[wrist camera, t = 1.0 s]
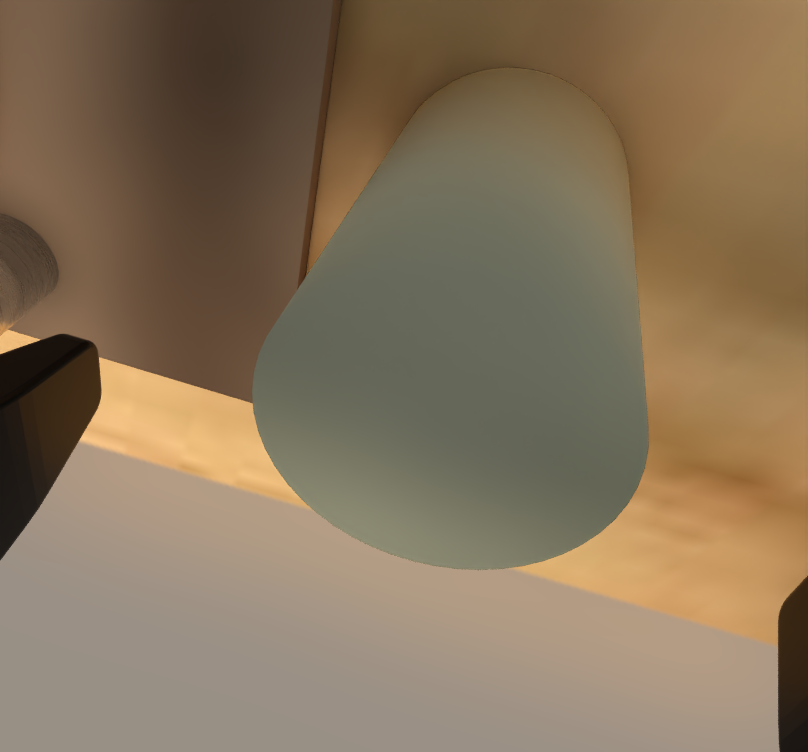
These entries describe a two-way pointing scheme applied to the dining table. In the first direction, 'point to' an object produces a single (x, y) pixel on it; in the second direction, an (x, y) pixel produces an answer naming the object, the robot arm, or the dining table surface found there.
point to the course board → (167, 170)
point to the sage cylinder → (470, 337)
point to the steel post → (23, 270)
